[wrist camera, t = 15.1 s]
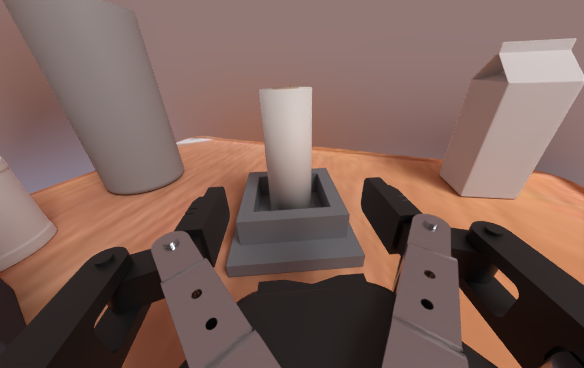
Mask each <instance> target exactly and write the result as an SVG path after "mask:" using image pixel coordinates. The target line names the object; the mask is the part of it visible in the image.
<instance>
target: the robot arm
mask: <svg viewBox="0 0 584 368" xmlns="http://www.w3.org/2000/svg"><path fill="white" fill-rule="evenodd" d="M361 208H362V211H363V213H364V214H365V216H366V217H367V219H368V221H369V222H370V224H371V226H372V227H373V229H374V230H375V232H376V234H377V235H378V237H379V239H380V240H381V242H382V243H383V245H384V247H385V248H386V250H387V251H388V253H389V254H400V256H401V257H400V260H399V264H398V268H397V272H396V276H395V280H394V284H393V288H392V291H391V290H389V289H387V288H385V287H382V286H380V285H377V284H374V283H370V282H367V281H366V279H365V276H364V274H363V273H362V274H350V275H338V276H335V277H332V278H329V279H326V280H323V281H320V282H318V283H314V284H308V283H302V282H295V281H289V280H277V281H265V282H259V284H258V291H256V292H253V293H251V294H249V295H247V296H246V297H244V298H242V299H241V300H239V301H238V302H237V303H236V302H235V301H234V299H233V298H232V296H231V295H230V293H229V292H228V290H227V289H226V287H225V286H224V284H223V282H222V281H221V279H220V278H219V276H218V275H217V273H216V272H215V270H214V269H213V268H214V267H215V264H216V260H217V257H218V254H219V251H220V248H221V244H222V241H223V238H224V235H225V232H226V228H227V225H228V222H229V217H230V213H229V207H228V202H227V198H226V193H225V189H224V187H209V188H208V189H207V191H206V193H205V195H204V196H203V197H199V198H197V199H196V200H195V201H193V202H192V204H191V205H190V207H189V208H188V210H187V211H186V213H185V215H184V216H183V218H182V219H181V221H180V222H179V224H178V226H177V227H176V229H175V230H174V232H170V233H168V234H165V235H163V236H162V237H160V238H159V239H157V240H156V241H155V242H154V244H153V245H152V247H151V249H149V250H145V251H142V252H138V253H135V254H131V255H130V254H129V252H128V251H127V249H126V248H124V247H113V248H109V249H107V250H104V251H102V252H100V253H98V254H96V255H94V256H93V257H91V258H90V259H89V260H88V261H87V262H86V263H85V264H84V265H83V266H82V267H81V268H80V269H79V270H78V271H77V272H76V273H75V274H74V275H73V277H72V278H71V279H70V280H69V281H68V282H67V283H66V284H65V285H64V286H63V287H62V288H61V290H60V291H59V292H58V293H57V294H56V295H55V296H54V297H53V298H52V299H51V300H50V302H49V303H48V304H47V305H46V306H45V307H44V308H43V309H42V310H41V311H40V312H39V313H38V315H37V316H36V317H35V318H34V319H33V320H32V321H31V322H30V323H29V324H28V325H27V327H26V328H25V329H24V330H23V331H22V332H21V333H20V334H19V335H18V336H17V337H16V338H15V340H14V341H13V342H12V343H11V344H10V345H9V346H8V347H7V348H6V349H5V350H4V352H3V353H2V354H1V355H0V368H121V367H122V365H123V363H124V360H125V358H126V356H127V354H128V352H129V350H130V348H131V346H132V344H133V341H134V339H135V337H136V335H137V333H138V331H139V329H140V327H141V325H142V322H143V320H144V318H145V316H146V314H147V312H148V310H149V308H150V306H151V303H153V302H156V301H158V300H161V299H164V298H166V301H167V304H168V307H169V310H170V313H171V316H172V319H173V322H174V325H175V328H176V331H177V333H178V336H179V339H180V342H181V345H182V348H183V351H184V354H185V357H186V360H185V361H184V362H183V363H182V365H181V366H180V367H179V368H498V367H497V366H495V365H494V364H492V363H491V362H490V361H488V360H487V359H486V358H484V357H483V356H481V355H480V354H479V353H477V352H476V351H475V350H473V349H472V348H470V347H469V346H468V345H466V344H465V343H464V342H462V341H461V320H460V299H459V287H460V289H461V290H462V291H463V292H464V294H465V295H466V296H467V298H468V299H469V300H470V301H471V303H472V304H473V305H474V307H475V308H476V309H477V310H478V312H479V313H480V314H481V316H482V317H483V318H484V319H485V321H486V322H487V323H488V325H489V326H490V327H491V328H492V330H493V331H494V332H495V333H496V335H497V336H498V337H499V339H500V340H501V341H502V342H503V344H504V345H505V346H506V348H507V349H508V350H509V351H510V353H511V354H512V355H513V357H514V358H515V359H516V360H517V362H518V363H519V364H520V366H521V367H522V368H584V285H583V284H581V283H580V282H579V281H577V280H576V279H574V278H573V277H572V276H570V275H569V274H568V273H566V272H565V271H564V270H562V269H561V268H559V267H558V266H557V265H555V264H554V263H553V262H551V261H550V260H549V259H547V258H546V257H544V256H543V255H542V254H540V253H539V252H538V251H536V250H535V249H534V248H532V247H531V246H529V245H528V244H527V243H525V242H524V241H523V240H521V239H520V238H519V237H517V236H516V235H514V234H513V233H512V232H510V231H509V230H507V229H505V228H504V227H502V226H499V225H497V224H494V223H490V222H485V221H476V222H473V223H472V224H471V226H470V228H469V230H464V229H456V228H450V226H449V225H448V223H447V222H445V221H444V220H442V219H441V218H439V217H436V216H433V215H429V214H423V213H422V212H420V211H419V210H418V209H417V208H416V207H415V206H414V205H413V204H412V203H411V202H410V201H409V200H408V199H407V198H406V197H405V196H403V194H402V193H401V192H400V191H399V190H398V189H396V188H394V187H392V186H390V185H387V184H386V183H385V182H384V181H383V180H382V179H381V178H380V177H375V178H366V179H365V180H364V185H363V192H362V198H361ZM498 269H499V270H500V271H501V272H502V273H504V274H505V275H506V276H507V277H508V278H509V279H510V280H511V281H512V282H513V283H514V284H515V286H516V287H517V289H518V292H519V297H518V299H517V300H516V299H515V298H514V297H513V296H512V295H511V294H510V293H509V292H508V291H507V290H506V289H505V288H504V286H503V285H502V284H501V283H500V282H499V281H498V280H497V279H496V278H495V277H494V275H495V274H496V272H497V271H498ZM106 304H107V305H108V308H107V309H106V311H105V313H104V314H103V316H102V317H101V319H100V320H99V322H98V323H97V325H96V326H95V328H94V325H95V322H96V320H97V318H98V316H99V315H100V313H101V312H102V310H103V309H104V307H105V306H106Z"/></svg>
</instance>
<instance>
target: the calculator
mask: <svg viewBox="0 0 584 368" xmlns="http://www.w3.org/2000/svg"><path fill="white" fill-rule="evenodd" d="M25 328H26V324H25V321H24V318H23V316H22V313H21V310H20V307H19V304H18V301H17V298H16V296H15V293H14V291H13V289H12V288H11V287H10V286H8V285H7V284H6V283H5V282H4V281H3V280H2V279H1V278H0V355H1V354H2V353H3V352H4V350H5V349H6V348H7V347H8V346H9V345H10V344H11V343H12V342H13V341H14V340H15V338H16V337H17V336H18V335H19V334H20V333H21V332H22V331H23V330H24V329H25Z"/></svg>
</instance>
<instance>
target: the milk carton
mask: <svg viewBox="0 0 584 368" xmlns="http://www.w3.org/2000/svg"><path fill="white" fill-rule="evenodd" d="M575 41H576V38H572V39H553V40H534V41H516V42H502V44H501V46H500V49H499V52H498V53H497V55H495V57H493V58H492V60H490V62H489V63H487V65H485V67H483V68H482V69H481V71H480V72H479V73H477V74H476V75H475V76H474V77H473V78H472V80H471V83H470V85H469V88H468V91H467V94H466V97H465V100H464V102H463V106H462V108H461V111H460V114H459V117H458V121H457V123H456V126H455V129H454V131H453V135H452V138H451V140H450V143H449V146H448V149H447V152H446V155H445V158H444V160H443V163H442V166H441V169H440V172H439V175H440V176H441V177H442V178H443V179H444V180H445V181H446V182H447V183H448V184H449V185H450V186H451V187H452V188H453V189H454V190H455V191H456V192H457V193H458V194H459V195H460V196H466V197H486V198H506V199H516V198H517V197H518V195H519V194H520V192H521V190H522V189H523V187H524V185H525V183H526V182H527V180H528V178H529V177H530V175H531V173H532V172H533V170H534V168H535V166H536V165H537V163H538V161H539V159H540V158H541V156H542V154H543V153H544V151H545V149H546V148H547V146H548V144H549V143H550V141H551V139H552V137H553V136H554V134H555V132H556V131H557V129H558V127H559V125H560V124H561V122H562V120H563V119H564V117H565V115H566V114H567V112H568V110H569V108H570V107H571V105H572V103H573V102H574V100H575V98H576V97H577V95H578V93H579V92H580V90H581V88H582V86H583V85H584V75H583V73H582V71H581V69H580V67H579V65H578V63H577V61H576V59H575V57H574V55H573V53H572V51H571V49H572V47H573V45H574V43H575Z"/></svg>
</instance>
